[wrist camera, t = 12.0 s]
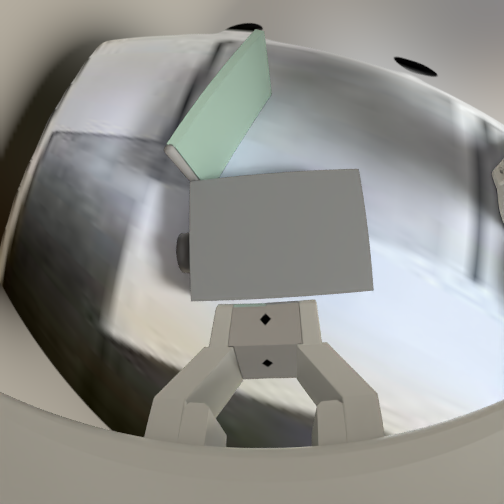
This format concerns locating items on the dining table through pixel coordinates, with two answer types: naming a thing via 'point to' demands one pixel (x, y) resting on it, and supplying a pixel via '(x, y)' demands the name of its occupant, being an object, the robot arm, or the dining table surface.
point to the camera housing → (276, 236)
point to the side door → (223, 113)
